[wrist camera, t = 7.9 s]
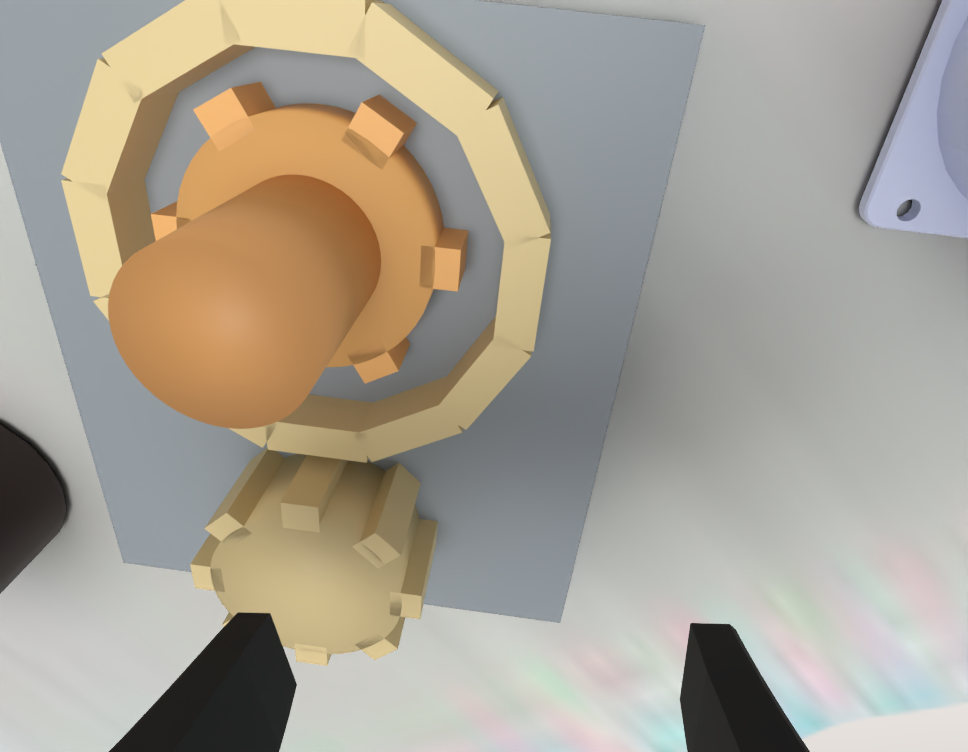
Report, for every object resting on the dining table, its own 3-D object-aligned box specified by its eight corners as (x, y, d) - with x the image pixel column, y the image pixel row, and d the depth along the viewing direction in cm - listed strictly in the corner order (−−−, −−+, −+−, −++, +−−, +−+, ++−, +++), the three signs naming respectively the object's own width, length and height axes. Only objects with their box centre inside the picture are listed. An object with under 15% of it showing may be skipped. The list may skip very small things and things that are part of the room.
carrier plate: (690, 24, 14) (747, 25, 10) (559, 589, 23) (562, 703, 19) (-3, -52, 14) (-212, -80, 10) (146, 533, 24) (67, 634, 20)
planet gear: (477, 105, 13) (435, 156, 8) (457, 365, 17) (418, 518, 12) (164, 70, 14) (-69, 99, 8) (206, 335, 17) (58, 470, 12)
